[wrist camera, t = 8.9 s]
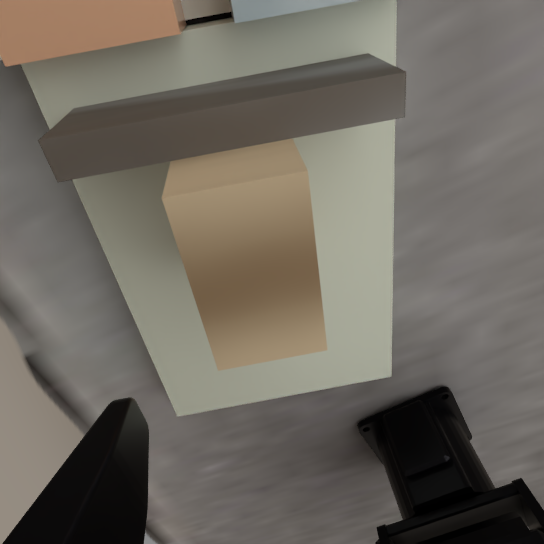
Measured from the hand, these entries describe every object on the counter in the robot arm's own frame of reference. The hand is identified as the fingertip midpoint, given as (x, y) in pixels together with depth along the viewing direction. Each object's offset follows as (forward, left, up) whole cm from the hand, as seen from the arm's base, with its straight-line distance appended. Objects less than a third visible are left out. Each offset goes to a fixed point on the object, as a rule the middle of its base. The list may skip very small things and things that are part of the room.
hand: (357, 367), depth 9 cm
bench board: (-3, +3, -12) cm, 12 cm away
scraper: (0, +2, -10) cm, 10 cm away
